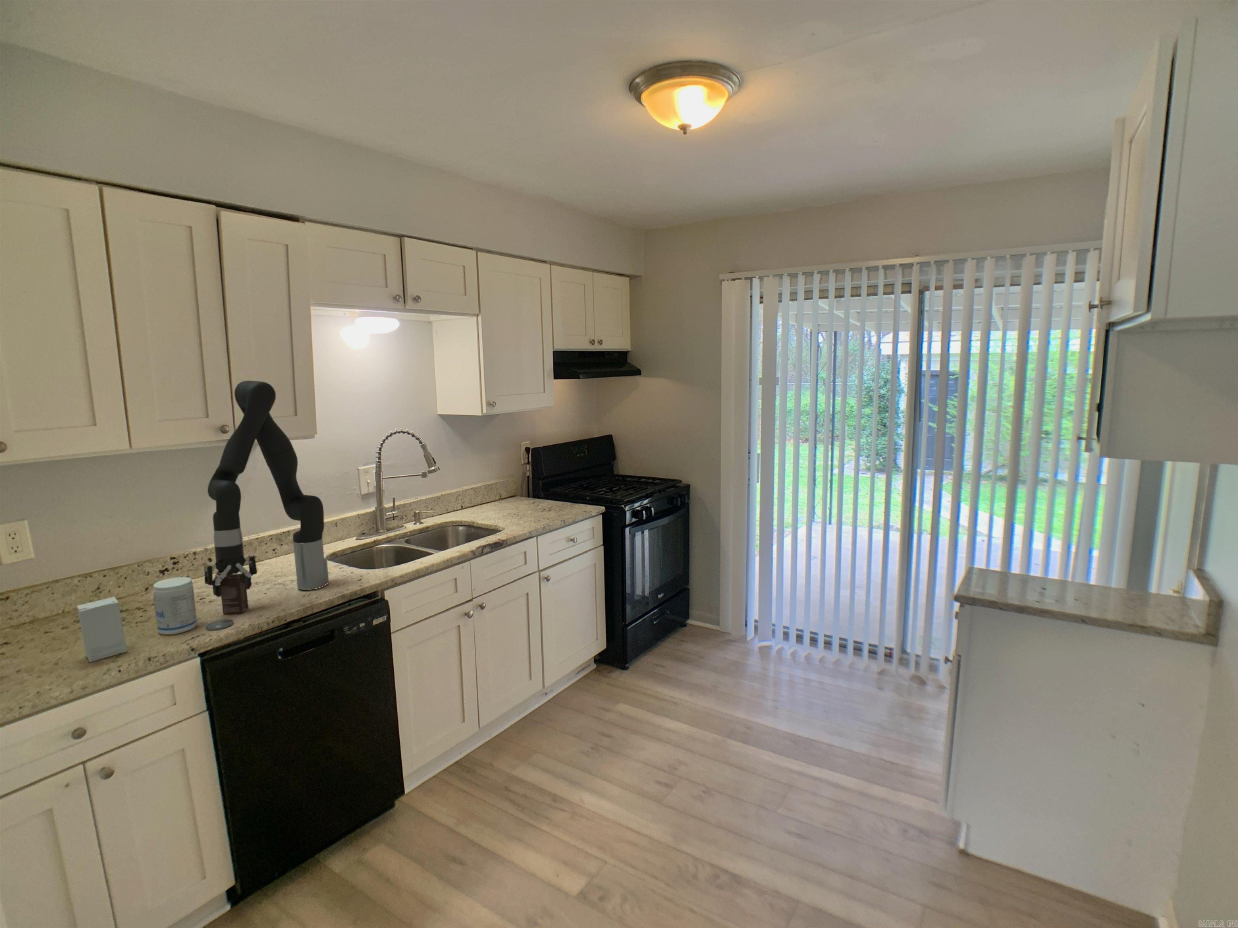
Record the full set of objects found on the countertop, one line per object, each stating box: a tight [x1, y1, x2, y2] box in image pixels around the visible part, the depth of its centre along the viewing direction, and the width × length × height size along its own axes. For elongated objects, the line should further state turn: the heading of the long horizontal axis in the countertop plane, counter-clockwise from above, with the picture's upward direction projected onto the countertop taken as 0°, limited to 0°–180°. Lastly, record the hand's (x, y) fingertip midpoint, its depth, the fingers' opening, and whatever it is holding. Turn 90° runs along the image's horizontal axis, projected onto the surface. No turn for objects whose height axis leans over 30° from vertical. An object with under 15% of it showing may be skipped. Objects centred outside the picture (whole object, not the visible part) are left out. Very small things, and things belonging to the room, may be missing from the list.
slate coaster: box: [205, 618, 234, 632], centre depth 183 cm, size 7×7×1 cm
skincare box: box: [76, 596, 128, 663], centre depth 164 cm, size 8×6×15 cm
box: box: [219, 573, 249, 615], centre depth 193 cm, size 6×4×12 cm
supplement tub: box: [152, 576, 198, 636], centre depth 180 cm, size 10×10×15 cm
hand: (233, 592), depth 193 cm, fingers open, 8 cm apart
